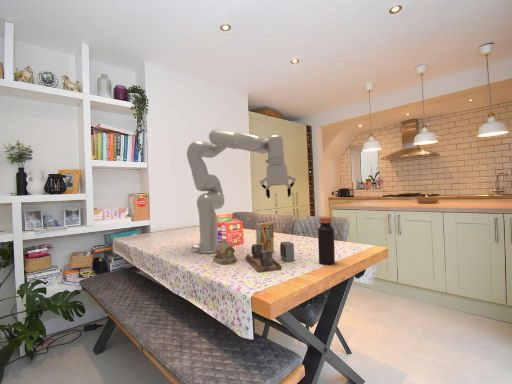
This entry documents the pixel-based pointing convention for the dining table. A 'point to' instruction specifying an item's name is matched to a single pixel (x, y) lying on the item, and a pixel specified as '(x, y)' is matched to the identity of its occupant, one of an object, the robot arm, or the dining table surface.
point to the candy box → (265, 235)
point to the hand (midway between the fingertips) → (278, 197)
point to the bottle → (326, 241)
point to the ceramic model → (224, 253)
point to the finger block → (287, 251)
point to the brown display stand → (262, 259)
